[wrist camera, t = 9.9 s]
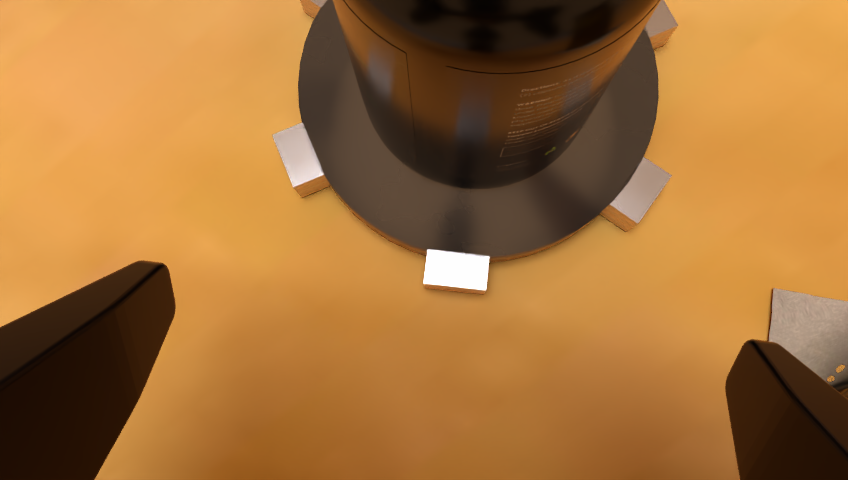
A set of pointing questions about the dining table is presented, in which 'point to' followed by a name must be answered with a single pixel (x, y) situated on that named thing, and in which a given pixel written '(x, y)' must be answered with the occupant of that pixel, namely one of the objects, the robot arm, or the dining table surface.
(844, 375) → the condiment
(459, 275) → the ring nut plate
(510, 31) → the supplement bottle
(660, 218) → the dining table surface
